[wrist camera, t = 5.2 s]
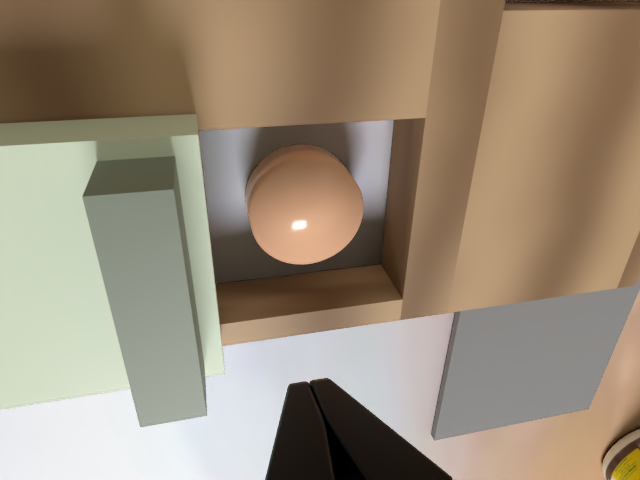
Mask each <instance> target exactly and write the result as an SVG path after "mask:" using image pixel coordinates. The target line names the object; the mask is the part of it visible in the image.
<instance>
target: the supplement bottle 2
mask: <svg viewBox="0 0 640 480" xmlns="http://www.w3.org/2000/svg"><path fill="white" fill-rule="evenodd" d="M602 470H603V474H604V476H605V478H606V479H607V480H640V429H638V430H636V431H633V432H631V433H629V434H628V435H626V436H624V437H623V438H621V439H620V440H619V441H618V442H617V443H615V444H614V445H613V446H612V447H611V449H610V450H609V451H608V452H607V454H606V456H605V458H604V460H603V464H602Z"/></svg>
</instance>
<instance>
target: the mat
mask: <svg viewBox="0 0 640 480" xmlns="http://www.w3.org/2000/svg"><path fill="white" fill-rule="evenodd" d="M639 289H640V278H639V280H638V283H637V285H636V286H629V287H622V288H615V289H609V290H602V291H595V292H588V293H581V294H574V295H568V296H561V297H554V298H547V299H540V300H533V301H527V302H520V303H513V304H506V305H499V306H492V307H485V308H479V309H472V310H465V311H458V312H455V317H454V322H453V327H452V332H451V337H450V342H449V347H448V352H447V357H446V362H445V367H444V372H443V378H442V383H441V388H440V393H439V398H438V403H437V408H436V413H435V418H434V423H433V428H432V433H431V435H432V437H433V439H434V440H439V439H444V438H449V437H454V436H459V435H464V434H468V433H473V432H478V431H483V430H488V429H493V428H498V427H503V426H508V425H513V424H518V423H522V422H527V421H532V420H537V419H542V418H547V417H552V416H557V415H562V414H567V413H572V412H577V411H581V410H586V409H589V407H590V405H591V402H592V400H593V398H594V395H595V393H596V391H597V388H598V386H599V384H600V381H601V379H602V376H603V374H604V372H605V369H606V367H607V365H608V362H609V360H610V358H611V355H612V353H613V351H614V348H615V346H616V343H617V341H618V339H619V336H620V334H621V332H622V329H623V327H624V325H625V322H626V320H627V318H628V315H629V313H630V310H631V308H632V306H633V303H634V301H635V299H636V296H637V294H638V292H639Z"/></svg>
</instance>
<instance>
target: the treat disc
mask: <svg viewBox="0 0 640 480" xmlns="http://www.w3.org/2000/svg"><path fill="white" fill-rule="evenodd" d="M245 203H246V209H247V213H248V217H249V221H250V225H251V229H252V232H253V235H254V237H255V239H256V241H257V243H258V244H259V246H260V247H261V248H262V249H263V250H264V251H265V252H266V253H268V254H269V255H270V256H272V257H274V258H275V259H277V260H280V261H282V262H286V263H290V264H311V263H316V262H320V261H323V260H325V259H328V258H330V257H332V256H333V255H335V254H337V253H338V252H339V251H341V250H342V249H343V248H344V247H345V246H347V244H348V243H349V242H350V241H351V240H352V239H353V237H354V236H355V234H356V232H357V231H358V229H359V226H360V224H361V221H362V217H363V197H362V194H361V191H360V189H359V186H358V184H357V183H356V182H355V180H354V179H353V177H352V176H351V175H350V173H349V172H348V171H347V169H346V168H345V167H344V165H343V164H342V163H341V161H340V160H339V159H338V158H337V157H336V156H335V155H333V154H332V153H331V152H329V151H327V150H326V149H323V148H321V147H318V146H314V145H308V144H297V145H290V146H286V147H283V148H280V149H278V150H276V151H274V152H272V153H271V154H269V155H268V156H266V157H265V158H264V159H263V160H262V161H261V162H260V163H259V164H258V165H257V166H256V167H255V169H254V170H253V172H252V174H251V175H250V178H249V180H248V183H247V186H246V192H245Z"/></svg>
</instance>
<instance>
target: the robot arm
mask: <svg viewBox="0 0 640 480" xmlns="http://www.w3.org/2000/svg"><path fill="white" fill-rule="evenodd" d="M265 480H452V477H451V476H450V475H448V474H447V473H446V472H445V471H443V470H442V469H441V468H440V467H438V466H437V465H436V464H435V463H433V462H432V461H431V460H430V459H429V458H427V457H426V456H425V455H424V454H422V453H421V452H420V451H419V450H417V449H416V448H415V447H414V446H412V445H411V444H410V443H409V442H407V441H406V440H405V439H404V438H402V437H401V436H400V435H399V434H397V433H396V432H395V431H394V430H393V429H391V428H390V427H389V426H388V425H386V424H385V423H384V422H383V421H381V420H380V419H379V418H378V417H376V416H375V415H374V414H373V413H371V412H370V411H369V410H368V409H366V408H365V407H364V406H363V405H361V404H360V403H359V402H358V401H356V400H355V399H354V398H353V397H352V396H350V395H349V394H348V393H347V392H345V391H344V390H343V389H342V388H340V387H339V386H338V385H337V384H335V383H334V382H333V381H332V380H330V379H328V378H324V379H317V380H312V381H310V383H308V382H299V383H293V384H290V385H289V386H288V389H287V393H286V397H285V401H284V405H283V409H282V413H281V417H280V421H279V425H278V429H277V434H276V438H275V442H274V446H273V450H272V454H271V458H270V462H269V466H268V470H267V474H266V478H265Z"/></svg>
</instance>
